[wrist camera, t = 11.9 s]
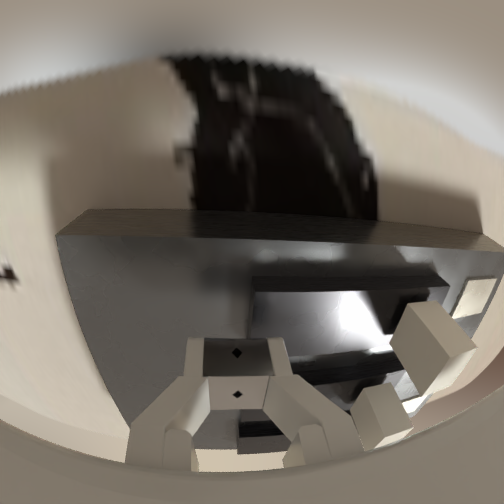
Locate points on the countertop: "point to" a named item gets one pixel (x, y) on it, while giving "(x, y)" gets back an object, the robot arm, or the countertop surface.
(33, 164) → the countertop surface
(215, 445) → the breaker panel
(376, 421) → the block
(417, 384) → the block
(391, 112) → the countertop surface
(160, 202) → the countertop surface
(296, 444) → the robot arm
